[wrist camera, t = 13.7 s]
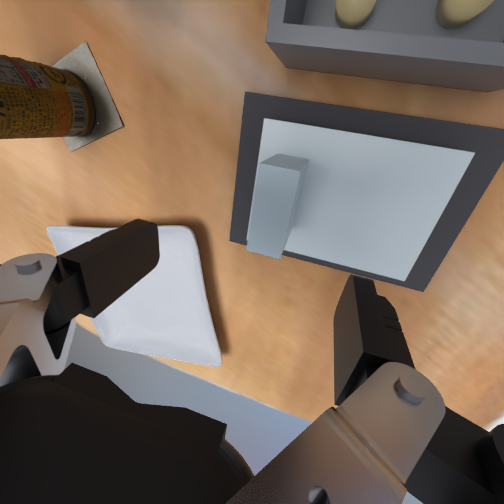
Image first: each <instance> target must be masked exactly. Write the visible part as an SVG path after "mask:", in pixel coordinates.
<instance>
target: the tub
mask: <svg viewBox="0 0 504 504" xmlns="http://www.w3.org/2000/svg"><path fill="white" fill-rule="evenodd" d="M266 43H267V44H268V45H269V47H270V48H271V49H272V50H273V52H274V53H275V54H276V55H277V57H278V58H279V59H280V61H281V62H282V63H283V64H284V66H285V67H286V68H293V69H301V70H309V71H317V72H325V73H333V74H342V75H350V76H358V77H366V78H374V79H383V80H391V81H399V82H407V83H415V84H424V85H432V86H440V87H448V88H456V89H464V90H473V91H481V92H490V91H494V90H499V89H503V88H504V0H271V2H270V10H269V18H268V26H267V34H266Z"/></svg>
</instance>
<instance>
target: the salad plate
mask: <svg viewBox="0 0 504 504" xmlns="http://www.w3.org/2000/svg"><path fill="white" fill-rule="evenodd" d="M157 227H158V234H159V250H160V258H159V262H158V264H157V266H156V267H155V268H154V269H153V270H152V271H151V272H150V273H148V274H147V275H146V276H145V277H144V278H142V279H141V280H140V281H139V282H138V283H136V284H135V285H134V286H133V287H131V288H130V289H129V290H128V291H127V292H125V293H124V294H123V295H122V296H121V297H119V298H118V299H117V300H116V301H115V302H113V303H112V304H111V305H110V306H109V307H107V308H106V309H105V310H104V311H103V312H101V313H100V314H99V315H98V316H96V317H95V318H91V317H90V318H91V320H92V322H93V324H94V326H95V328H96V330H97V332H98V334H99V336H100V338H101V340H102V341H103V343H104V344H105V345H106V346H107V347H110V348H114V349H119V350H124V351H129V352H134V353H139V354H144V355H150V356H155V357H161V358H167V359H172V360H178V361H184V362H189V363H194V364H200V365H206V366H212V367H220V366H221V365H222V354H221V350H220V346H219V343H218V340H217V336H216V333H215V329H214V325H213V321H212V317H211V313H210V309H209V304H208V300H207V295H206V290H205V285H204V280H203V273H202V267H201V261H200V255H199V249H198V245H197V241H196V237H195V234H194V232H193V231H192V230H191V229H190V228H189V227H187V226H182V225H165V226H157ZM113 229H117V228H97V227H77V226H58V225H56V226H48V227H47V233H48V235H49V237H50V239H51V241H52V243H53V245H54V247H55V249H56V251H57V253H58V255H61V254H63V253H65V252H67V251H69V250H71V249H73V248H75V247H77V246H79V245H81V244H83V243H85V242H87V241H90V240H91V239H93V238H95V237H99V235H101V234H103V233H105V232H108V231H110V230H113Z"/></svg>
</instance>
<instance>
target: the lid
mask: <svg viewBox="0 0 504 504" xmlns="http://www.w3.org/2000/svg"><path fill="white" fill-rule="evenodd" d="M474 154H475V153H474V152H468V151H462V150H456V149H450V148H444V147H438V146H432V145H426V144H419V143H413V142H407V141H401V140H395V139H389V138H383V137H377V136H371V135H365V134H359V133H352V132H346V131H340V130H334V129H328V128H322V127H316V126H310V125H304V124H298V123H291V122H285V121H279V120H273V119H267V118H264V123H263V130H262V137H261V143H260V150H259V157H258V164H257V171H256V178H255V185H254V192H253V199H252V205H251V212H250V219H249V226H248V233H247V240H248V242H247V248H246V251H250V252H254V253H258V254H261V255H265V256H269V257H273V258H276V259H281V256H282V254H283V251H284V250H286V251H290V252H294V253H298V254H302V255H305V256H309V257H313V258H317V259H321V260H325V261H328V262H332V263H336V264H340V265H344V266H348V267H352V268H355V269H359V270H363V271H367V272H371V273H375V274H378V275H382V276H386V277H390V278H394V279H398V280H402V281H405V280H406V278H407V276H408V274H409V272H410V271H411V269H412V267H413V265H414V263H415V262H416V260H417V258H418V256H419V254H420V252H421V251H422V249H423V247H424V245H425V243H426V242H427V240H428V238H429V236H430V234H431V233H432V231H433V229H434V227H435V225H436V223H437V222H438V220H439V218H440V216H441V214H442V213H443V211H444V209H445V207H446V205H447V203H448V202H449V200H450V198H451V196H452V194H453V193H454V191H455V189H456V187H457V185H458V183H459V182H460V180H461V178H462V176H463V174H464V173H465V171H466V169H467V167H468V165H469V163H470V162H471V160H472V158H473V156H474Z"/></svg>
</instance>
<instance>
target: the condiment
mask: <svg viewBox="0 0 504 504" xmlns="http://www.w3.org/2000/svg"><path fill="white" fill-rule="evenodd" d="M80 75H82V76H83V78H82V77H81V76H80ZM84 76H85V77H87V79H85V78H84ZM97 123H99V124H97ZM122 126H123V125H122V123H121V120H120V118H119V114H118V112H117V110H116V108H115V105H114V103H113V101H112V98H111V96H110V93H109V91H108V89H107V87H106V85H105V82H104V79H103V77H102V75H101V74H100V72H99V70H98V67H97V65H96V62H95V60H94V58H93V56H92V54H91V52H90V50H89V48H88V45H87V43H86V41H85V42H84V43H82V44H80V45H79V46H78V47H77V48H76V49H74V50H72V51H71V52H70V53H69V54H67V55H65V56H64V57H63V58H62V59H60V60H59V61H58V62H57V63H56V64H54V65H53V66H47V65H44V64H41V63H37V62H31V61H26V60H24V59H21V58H15V57H8V56H6V55H0V139H15V138H44V137H63V139H64V140H65V142H66V144H67V146H68V148H69V150H70V151H73V150H76V149H78V148H80V147H82V146H84V145H86V144H88V143H90V142H92V141H94V140H96V139H98V138H100V137H102V136H104V135H106V134H108V133H110V132H112V131H114V130H116V129H118V128H120V127H122Z"/></svg>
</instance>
